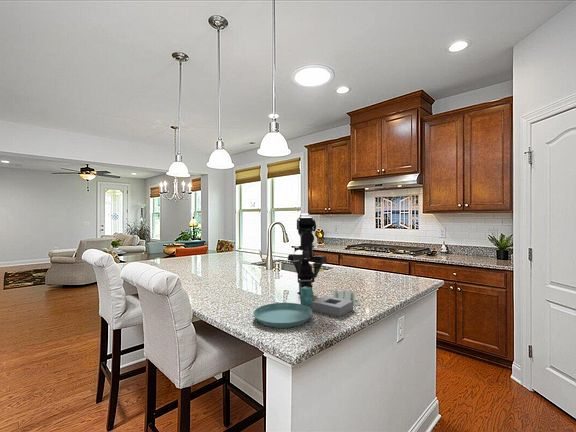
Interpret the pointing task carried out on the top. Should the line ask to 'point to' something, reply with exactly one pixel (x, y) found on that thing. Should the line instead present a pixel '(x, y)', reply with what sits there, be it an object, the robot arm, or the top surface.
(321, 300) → the well block
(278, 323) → the saucer
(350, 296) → the metal bracket
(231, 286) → the top surface
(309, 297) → the teal peg
